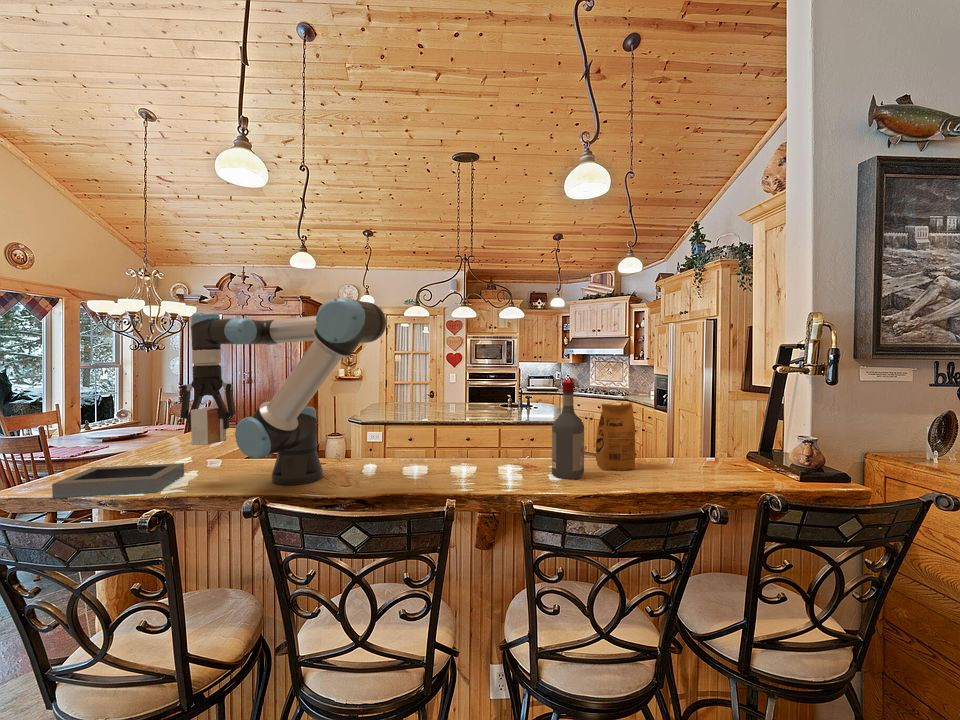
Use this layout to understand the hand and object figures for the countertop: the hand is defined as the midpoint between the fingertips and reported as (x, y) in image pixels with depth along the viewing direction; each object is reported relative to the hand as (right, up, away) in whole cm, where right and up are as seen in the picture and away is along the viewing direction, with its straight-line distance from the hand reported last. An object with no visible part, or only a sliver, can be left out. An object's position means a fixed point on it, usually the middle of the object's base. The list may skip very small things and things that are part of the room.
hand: (209, 440), depth 141 cm
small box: (0, -1, 0) cm, 1 cm away
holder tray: (-26, -14, 0) cm, 29 cm away
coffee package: (+128, -13, +20) cm, 130 cm away
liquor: (+110, -13, +10) cm, 111 cm away
